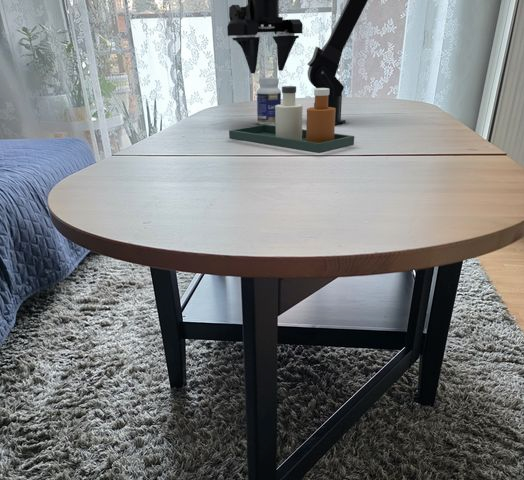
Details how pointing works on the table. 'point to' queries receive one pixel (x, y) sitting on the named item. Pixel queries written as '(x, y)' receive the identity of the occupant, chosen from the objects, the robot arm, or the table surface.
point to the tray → (268, 137)
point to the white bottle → (289, 115)
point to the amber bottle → (320, 118)
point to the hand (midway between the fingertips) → (267, 71)
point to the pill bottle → (267, 100)
